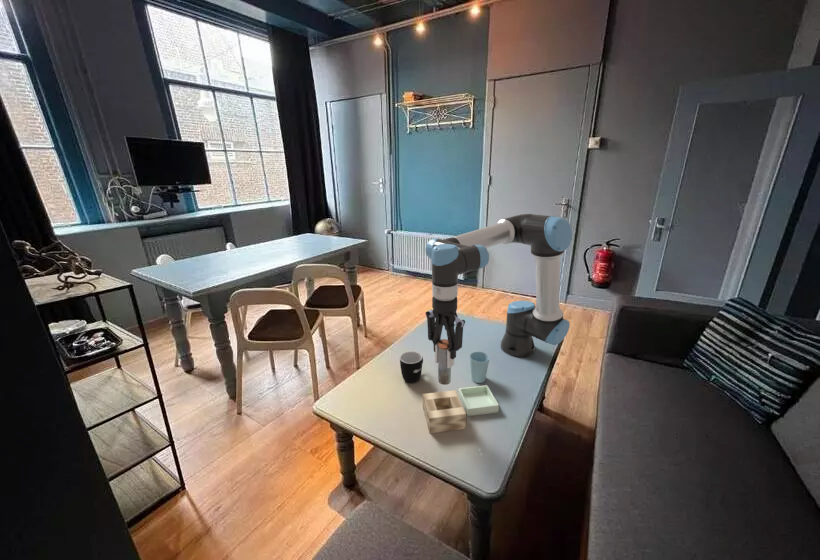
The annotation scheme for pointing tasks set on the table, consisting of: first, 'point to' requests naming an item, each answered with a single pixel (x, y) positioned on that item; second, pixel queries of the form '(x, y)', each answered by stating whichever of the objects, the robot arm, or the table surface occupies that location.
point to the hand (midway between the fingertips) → (444, 363)
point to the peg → (443, 363)
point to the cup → (479, 366)
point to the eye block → (443, 411)
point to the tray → (478, 400)
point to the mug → (411, 366)
